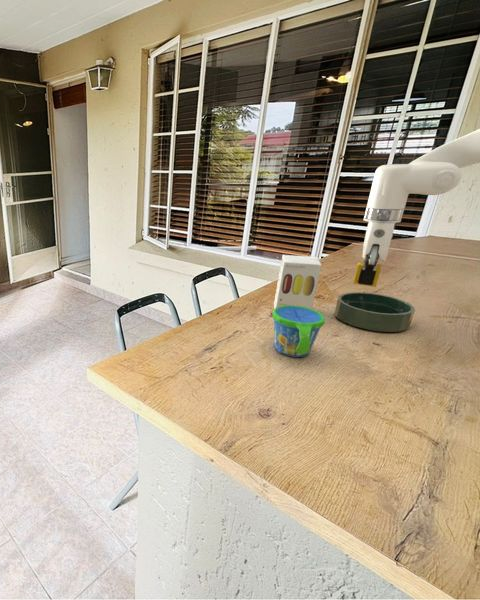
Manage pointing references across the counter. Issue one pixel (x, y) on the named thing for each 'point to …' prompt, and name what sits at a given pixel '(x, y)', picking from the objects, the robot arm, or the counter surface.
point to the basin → (374, 312)
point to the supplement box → (297, 281)
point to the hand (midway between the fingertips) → (365, 281)
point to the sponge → (358, 270)
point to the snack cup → (296, 329)
